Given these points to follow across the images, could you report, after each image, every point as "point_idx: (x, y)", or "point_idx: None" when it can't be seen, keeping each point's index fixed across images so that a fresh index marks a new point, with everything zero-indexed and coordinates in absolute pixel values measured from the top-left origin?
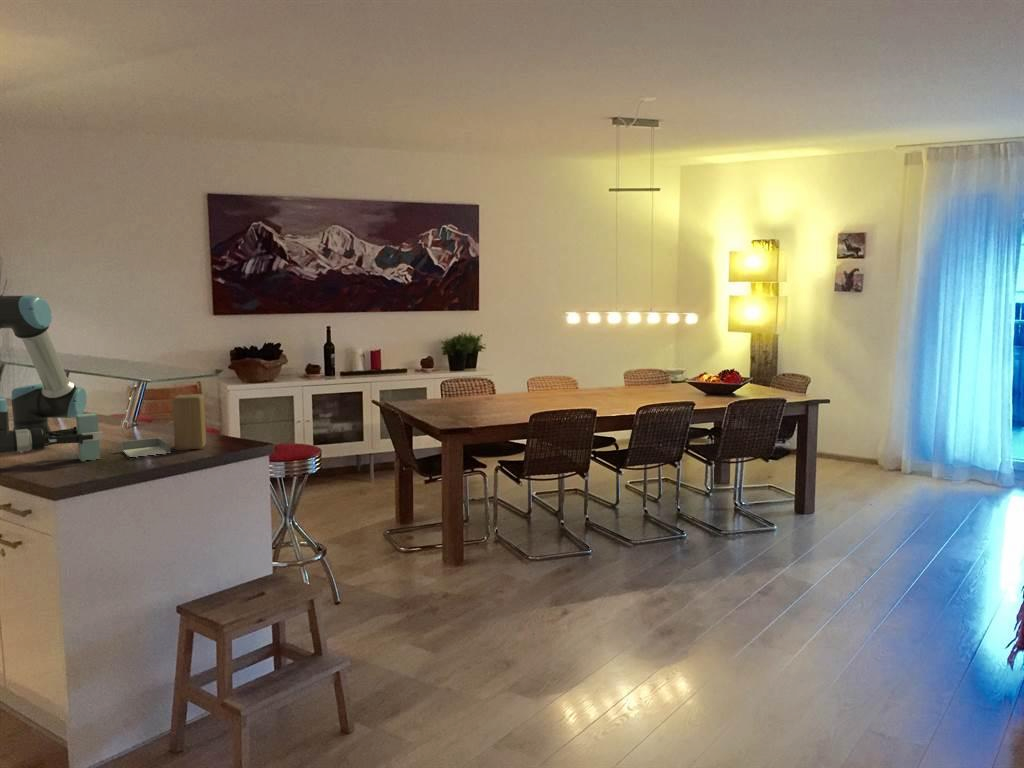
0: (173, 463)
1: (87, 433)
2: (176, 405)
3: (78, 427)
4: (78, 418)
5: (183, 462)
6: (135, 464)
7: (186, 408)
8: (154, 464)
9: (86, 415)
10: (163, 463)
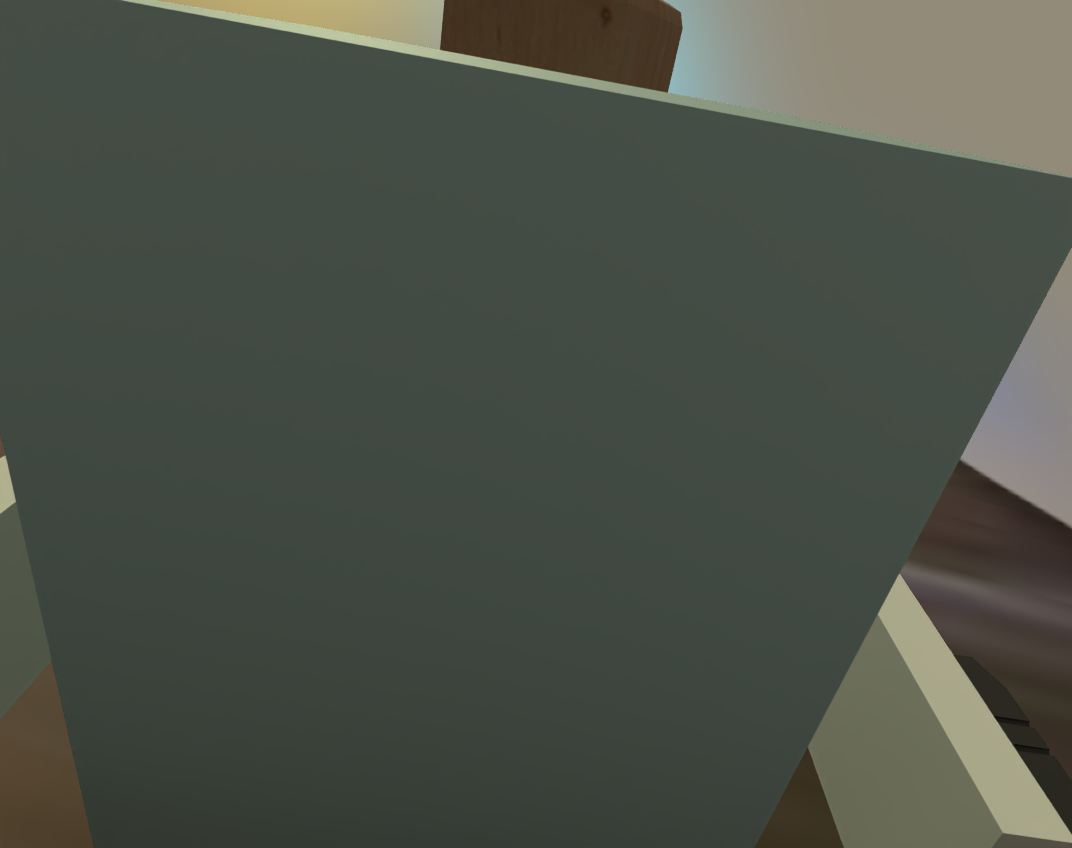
0: (991, 511)
1: (986, 707)
2: (633, 54)
3: (568, 686)
4: (963, 294)
5: (965, 478)
6: (1003, 665)
7: (648, 87)
8: (1018, 581)
9: (716, 104)
10: (983, 540)
